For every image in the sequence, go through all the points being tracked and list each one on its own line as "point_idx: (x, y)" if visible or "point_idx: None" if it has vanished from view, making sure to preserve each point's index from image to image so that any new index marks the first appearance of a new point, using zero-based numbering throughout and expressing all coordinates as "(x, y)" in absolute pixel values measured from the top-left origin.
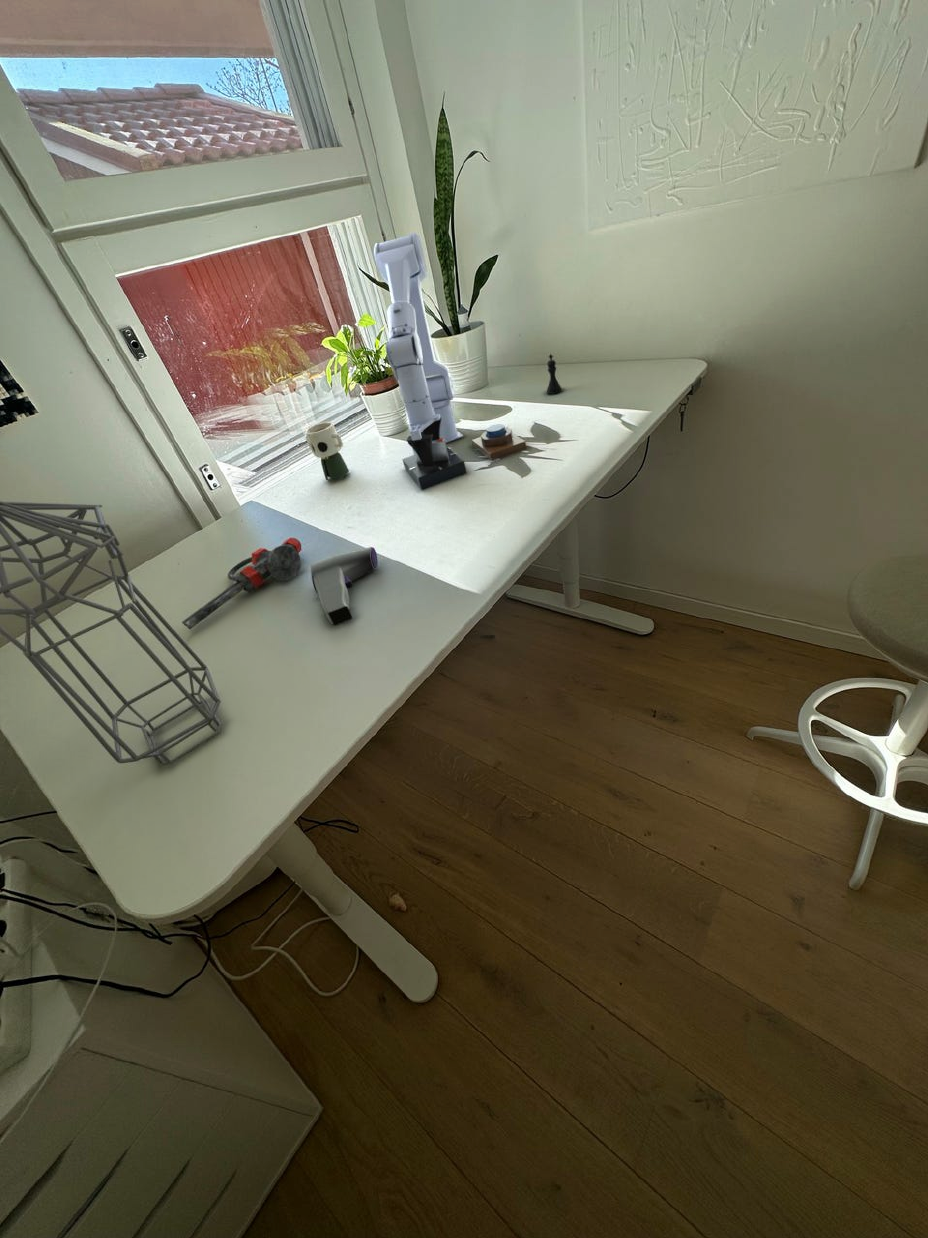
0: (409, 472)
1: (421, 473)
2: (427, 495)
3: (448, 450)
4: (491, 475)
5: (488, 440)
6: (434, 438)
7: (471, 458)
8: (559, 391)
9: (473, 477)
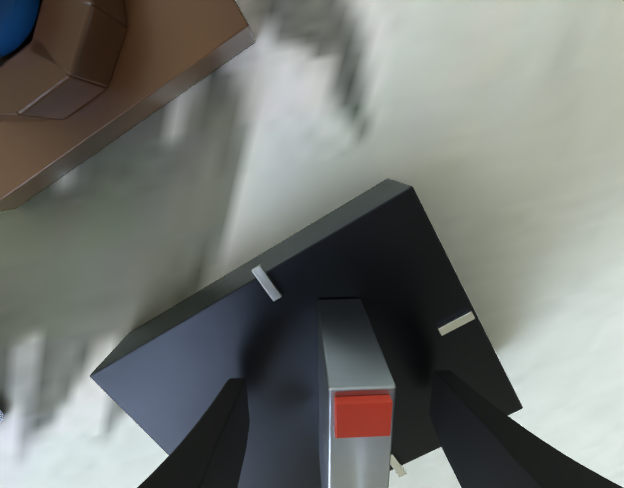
0: None
1: None
2: (545, 326)
3: (199, 328)
4: (464, 11)
5: (91, 30)
6: (223, 470)
7: (189, 187)
8: None
9: (447, 129)
